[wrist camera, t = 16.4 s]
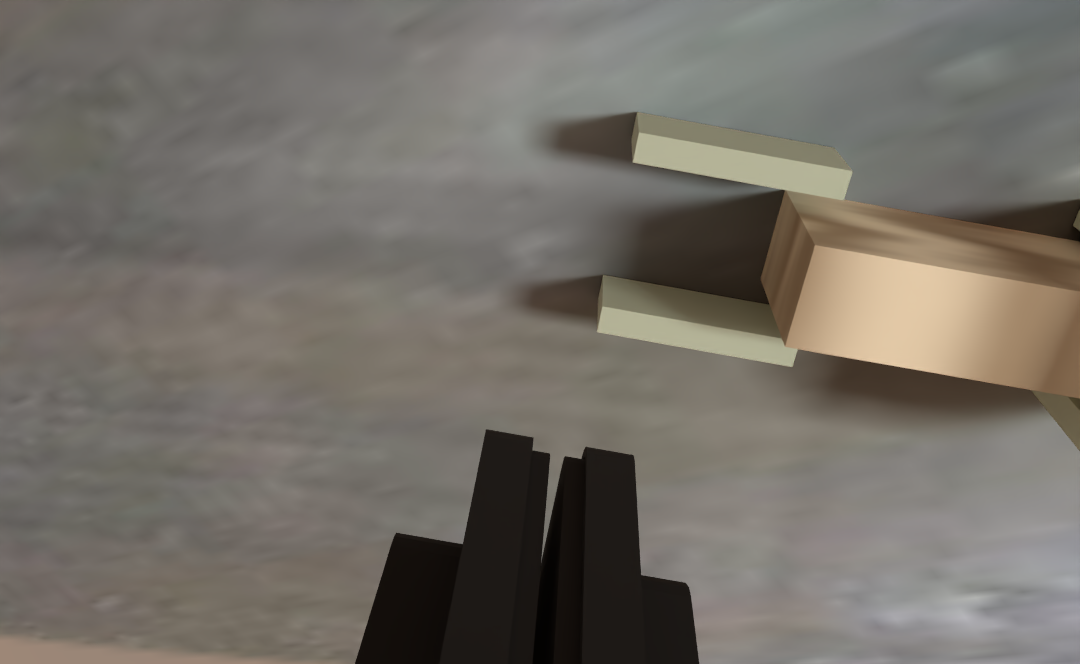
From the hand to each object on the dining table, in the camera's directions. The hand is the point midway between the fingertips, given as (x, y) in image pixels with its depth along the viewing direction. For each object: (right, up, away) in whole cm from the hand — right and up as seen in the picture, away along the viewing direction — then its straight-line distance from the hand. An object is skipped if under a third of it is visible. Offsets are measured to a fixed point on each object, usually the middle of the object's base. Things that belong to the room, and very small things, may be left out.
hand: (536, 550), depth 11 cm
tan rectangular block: (+15, +5, +25) cm, 30 cm away
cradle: (+6, +6, +25) cm, 27 cm away
